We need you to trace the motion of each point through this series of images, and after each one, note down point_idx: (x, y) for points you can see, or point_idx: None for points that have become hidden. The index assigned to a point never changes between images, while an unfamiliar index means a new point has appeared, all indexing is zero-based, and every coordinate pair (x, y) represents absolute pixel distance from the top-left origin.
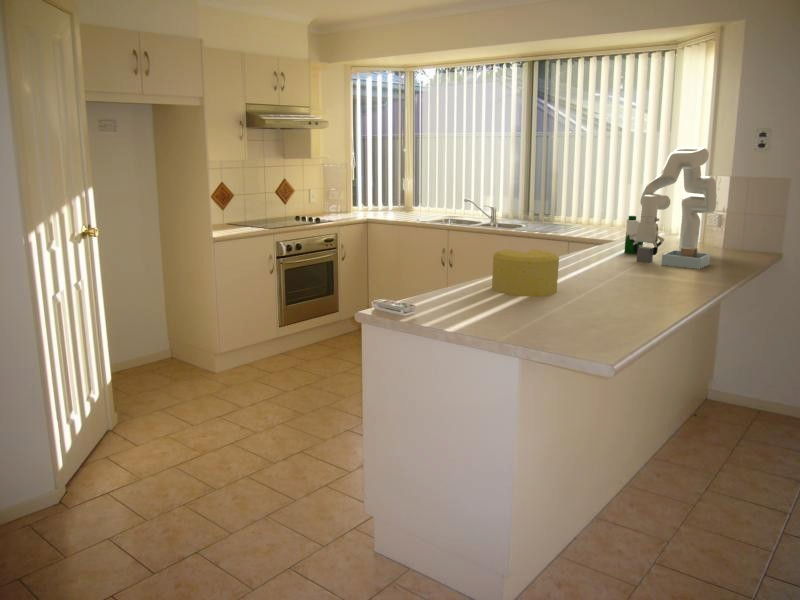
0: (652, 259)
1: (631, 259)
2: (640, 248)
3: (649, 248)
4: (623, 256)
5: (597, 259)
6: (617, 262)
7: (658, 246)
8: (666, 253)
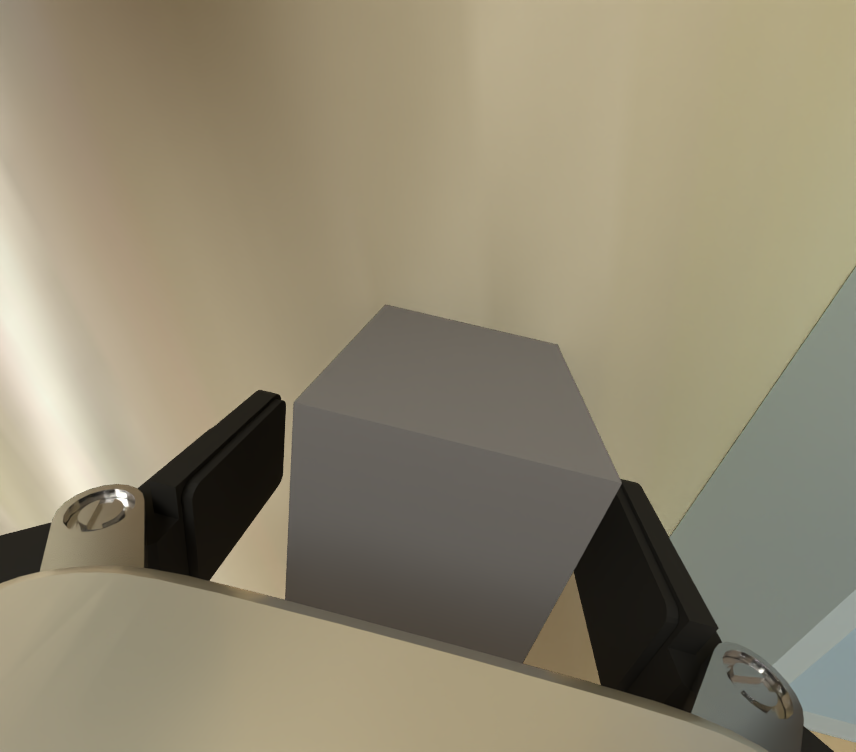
0: (561, 355)
1: (272, 331)
2: (338, 611)
3: (510, 607)
4: (66, 79)
5: (29, 490)
6: (231, 565)
7: (764, 678)
8: (844, 634)
